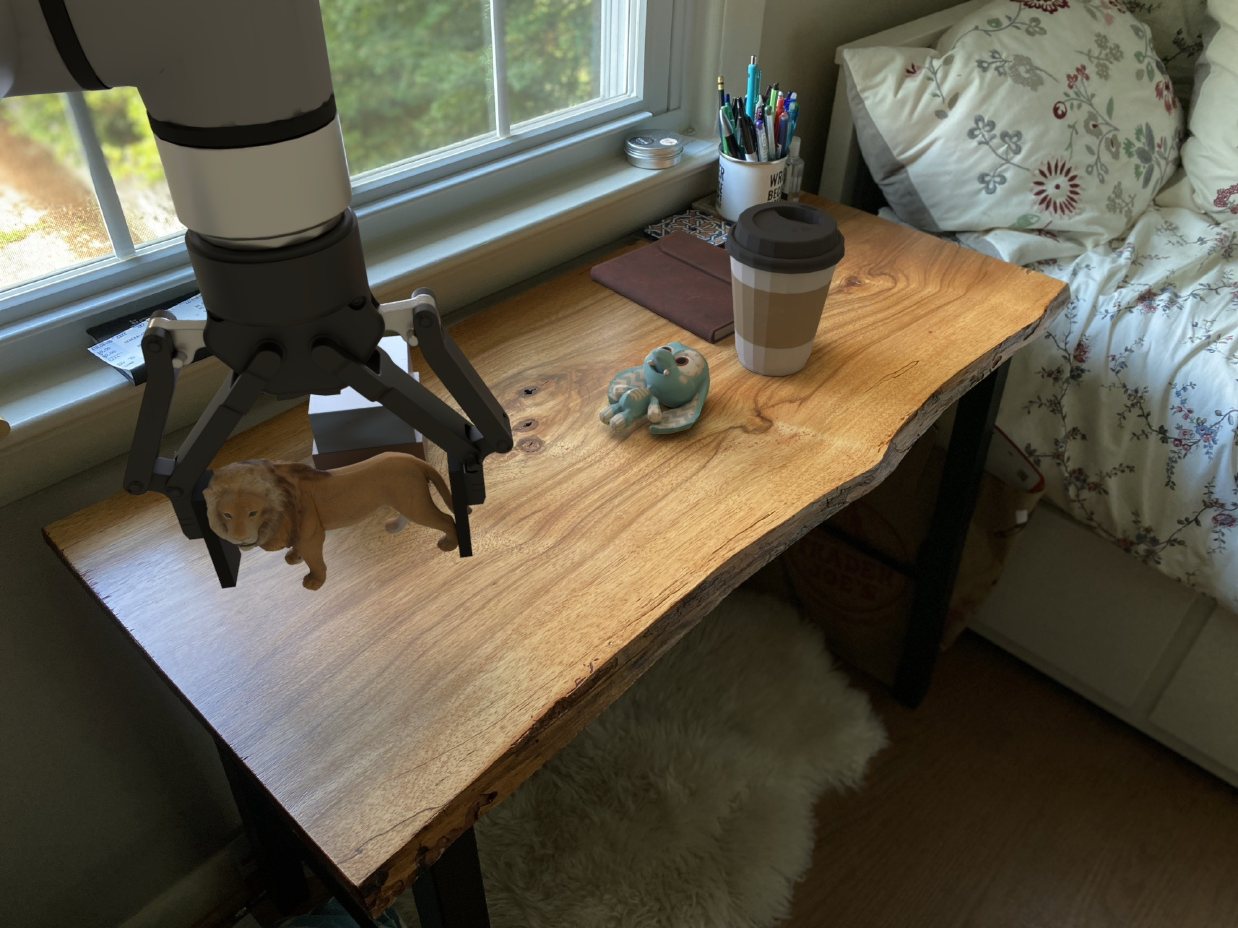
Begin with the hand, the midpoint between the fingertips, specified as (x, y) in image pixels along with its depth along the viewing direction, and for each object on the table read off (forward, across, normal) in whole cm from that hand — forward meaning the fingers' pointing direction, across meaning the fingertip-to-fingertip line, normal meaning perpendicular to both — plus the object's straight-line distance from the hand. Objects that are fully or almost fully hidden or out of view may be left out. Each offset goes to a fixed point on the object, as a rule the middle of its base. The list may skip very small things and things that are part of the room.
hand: (350, 556), depth 55 cm
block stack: (+13, +1, -28) cm, 30 cm away
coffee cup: (+13, -39, -36) cm, 54 cm away
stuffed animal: (+13, -25, -28) cm, 40 cm away
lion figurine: (+1, 0, 0) cm, 1 cm away
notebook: (+13, -35, -52) cm, 64 cm away
